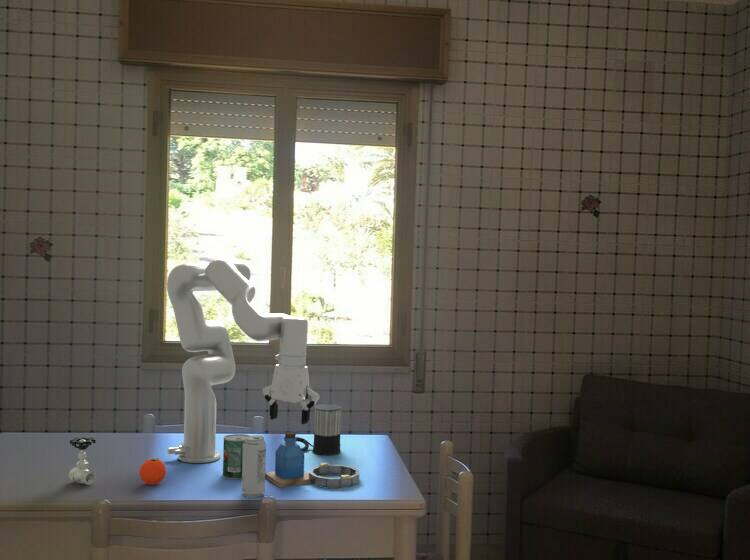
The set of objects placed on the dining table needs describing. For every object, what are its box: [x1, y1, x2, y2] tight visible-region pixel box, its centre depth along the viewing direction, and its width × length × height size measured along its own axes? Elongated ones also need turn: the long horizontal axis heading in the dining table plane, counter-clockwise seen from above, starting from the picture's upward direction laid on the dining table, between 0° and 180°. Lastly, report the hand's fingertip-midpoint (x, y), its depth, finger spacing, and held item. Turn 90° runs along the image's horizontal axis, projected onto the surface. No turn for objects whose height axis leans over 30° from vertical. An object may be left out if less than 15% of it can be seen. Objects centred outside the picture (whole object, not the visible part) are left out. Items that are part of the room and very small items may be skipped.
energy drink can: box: [241, 435, 267, 498], centre depth 196 cm, size 6×6×15 cm
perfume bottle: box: [274, 431, 305, 479], centre depth 210 cm, size 6×6×12 cm
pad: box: [265, 470, 312, 488], centre depth 211 cm, size 11×11×1 cm
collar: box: [308, 462, 360, 489], centre depth 211 cm, size 14×14×3 cm
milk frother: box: [295, 403, 343, 456], centre depth 242 cm, size 14×16×15 cm
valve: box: [68, 436, 97, 486], centre depth 201 cm, size 7×7×12 cm
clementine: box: [139, 457, 167, 486], centre depth 203 cm, size 8×7×7 cm
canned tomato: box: [222, 433, 250, 480], centre depth 213 cm, size 8×8×11 cm
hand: (289, 421), depth 211 cm, fingers open, 9 cm apart
